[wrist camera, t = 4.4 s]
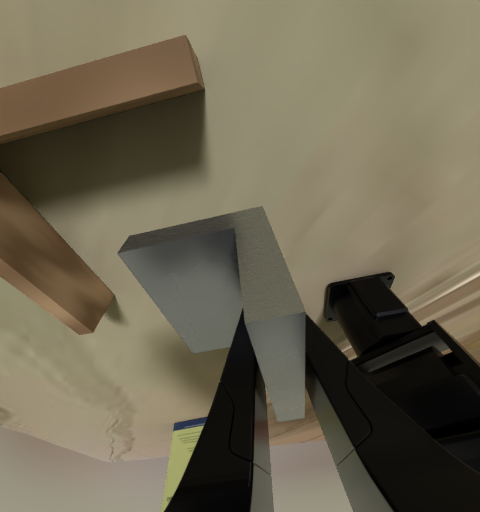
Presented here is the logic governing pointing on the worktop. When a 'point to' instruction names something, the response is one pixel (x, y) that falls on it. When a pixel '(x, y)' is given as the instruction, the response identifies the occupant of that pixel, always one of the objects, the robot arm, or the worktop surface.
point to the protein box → (180, 454)
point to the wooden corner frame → (62, 115)
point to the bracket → (228, 294)
